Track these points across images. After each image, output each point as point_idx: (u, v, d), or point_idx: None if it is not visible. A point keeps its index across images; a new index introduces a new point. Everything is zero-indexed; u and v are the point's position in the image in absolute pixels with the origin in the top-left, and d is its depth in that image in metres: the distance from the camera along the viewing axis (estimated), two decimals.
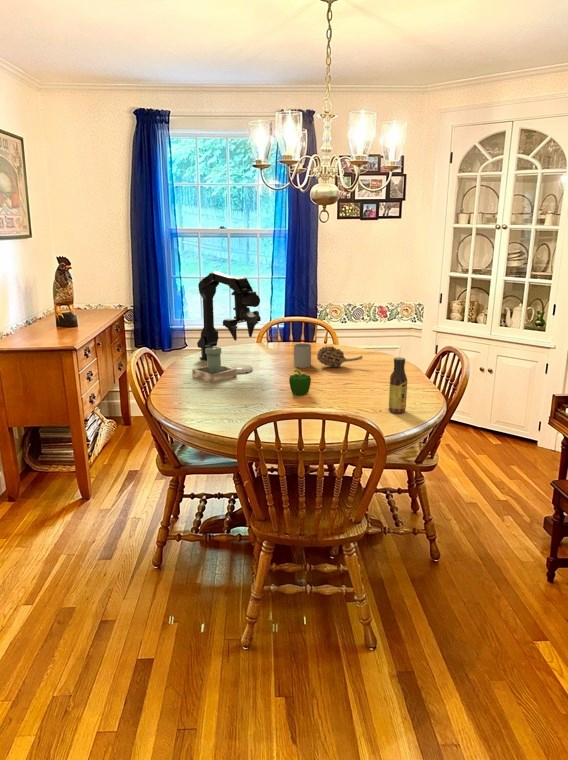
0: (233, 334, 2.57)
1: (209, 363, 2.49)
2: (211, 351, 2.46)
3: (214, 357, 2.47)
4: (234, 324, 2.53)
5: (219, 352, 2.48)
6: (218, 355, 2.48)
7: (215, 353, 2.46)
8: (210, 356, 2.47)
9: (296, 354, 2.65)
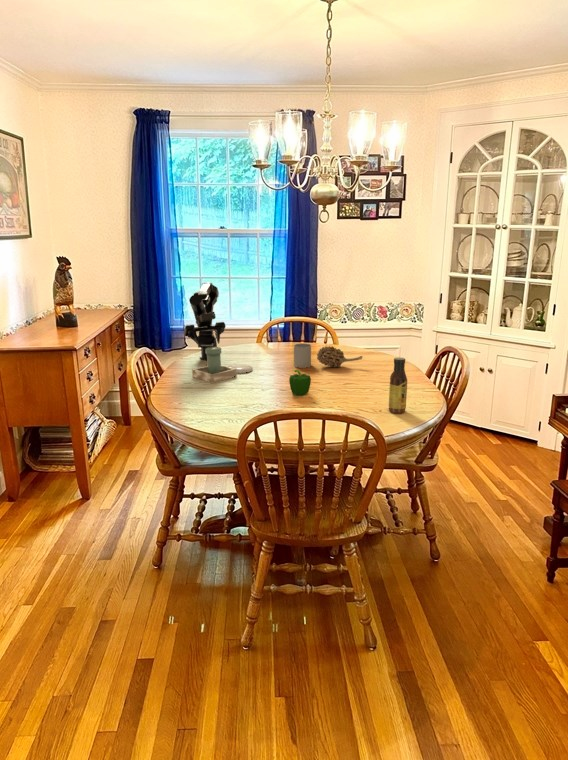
0: (195, 340, 2.55)
1: (209, 363, 2.49)
2: (211, 351, 2.46)
3: (214, 357, 2.47)
4: (190, 327, 2.54)
5: (219, 352, 2.48)
6: (218, 355, 2.48)
7: (215, 353, 2.46)
8: (210, 356, 2.47)
9: (296, 354, 2.65)
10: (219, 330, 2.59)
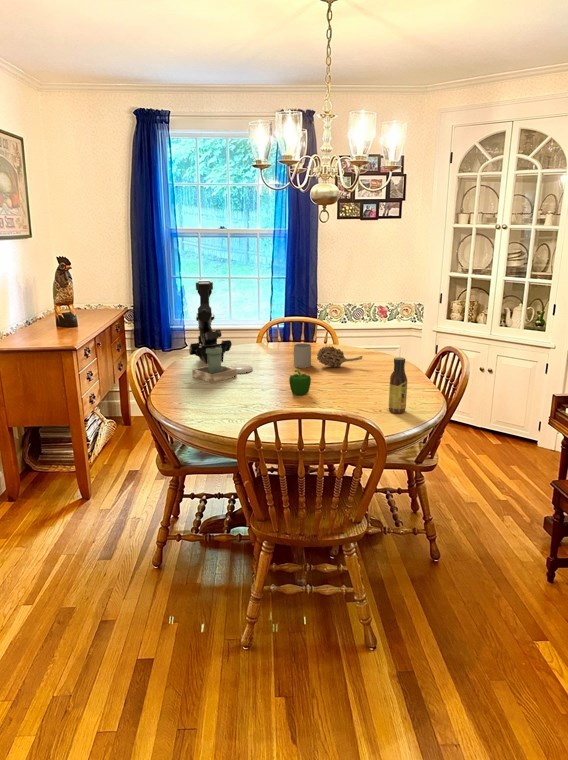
0: (203, 358, 2.49)
1: (209, 363, 2.49)
2: (212, 351, 2.46)
3: (214, 357, 2.47)
4: (196, 345, 2.48)
5: (220, 352, 2.48)
6: (218, 355, 2.48)
7: (216, 353, 2.46)
8: (210, 356, 2.47)
9: (296, 354, 2.65)
10: (223, 349, 2.52)
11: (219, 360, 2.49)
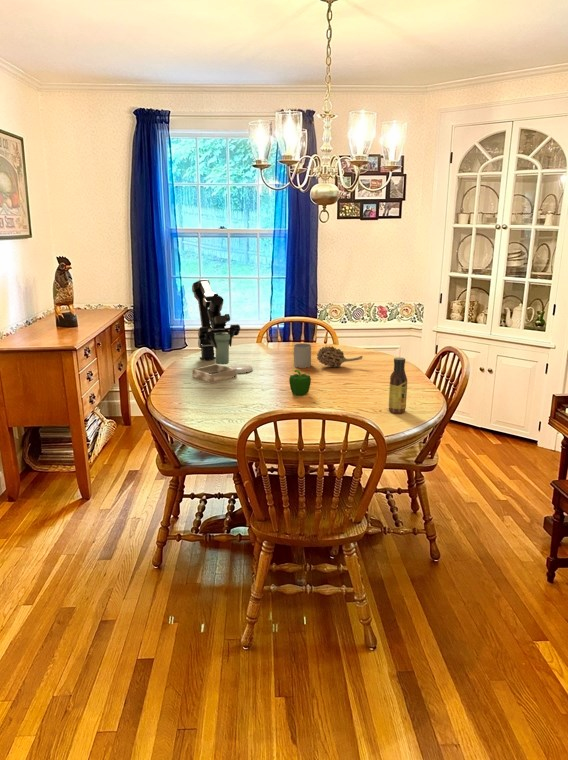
0: (212, 342, 2.51)
1: (217, 349, 2.51)
2: (220, 337, 2.48)
3: (222, 343, 2.50)
4: (205, 329, 2.50)
5: (228, 338, 2.50)
6: (226, 341, 2.50)
7: (224, 339, 2.49)
8: (219, 342, 2.50)
9: (296, 354, 2.65)
10: (231, 333, 2.54)
11: (227, 346, 2.51)
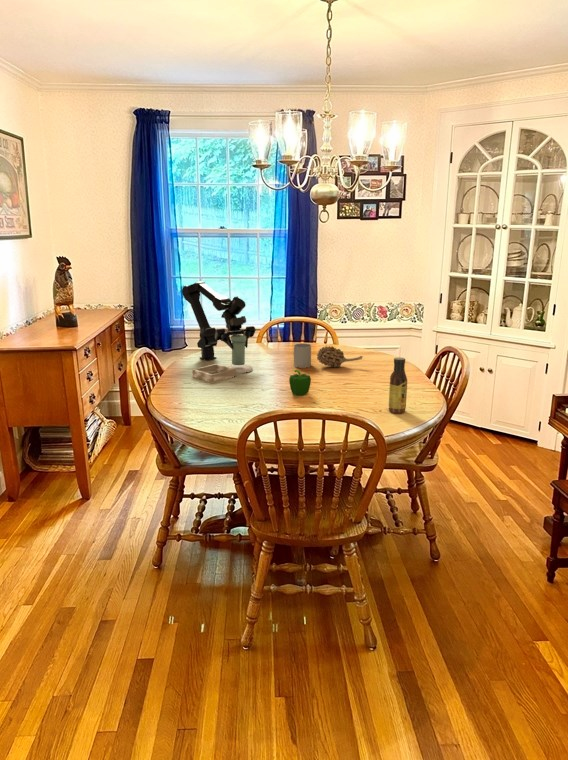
0: (228, 343, 2.58)
1: (234, 350, 2.58)
2: (237, 338, 2.55)
3: (239, 344, 2.57)
4: (222, 331, 2.57)
5: (244, 340, 2.57)
6: (243, 343, 2.58)
7: (240, 340, 2.56)
8: (235, 343, 2.57)
9: (296, 354, 2.65)
10: (247, 334, 2.62)
11: (243, 348, 2.58)
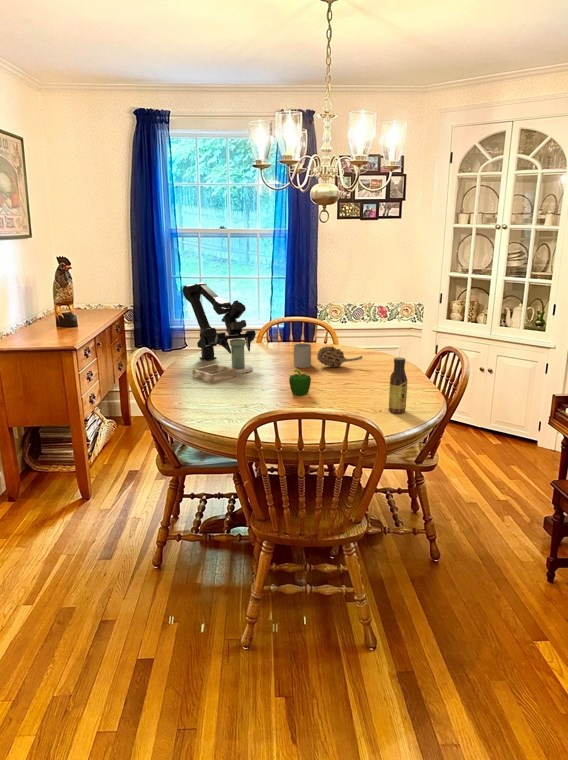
0: (226, 347, 2.58)
1: (233, 354, 2.58)
2: (235, 343, 2.56)
3: (238, 349, 2.57)
4: (222, 335, 2.57)
5: (243, 344, 2.57)
6: (242, 347, 2.58)
7: (239, 345, 2.56)
8: (234, 348, 2.57)
9: (296, 354, 2.65)
10: (249, 338, 2.62)
11: (243, 352, 2.59)
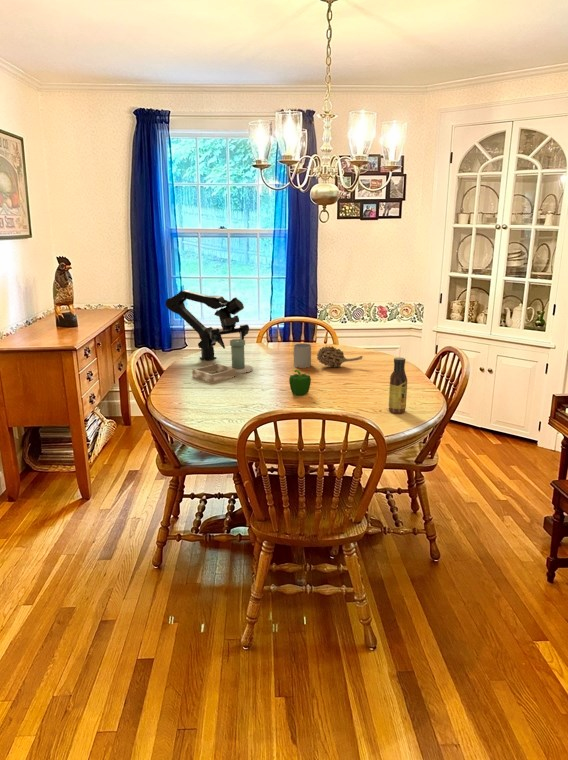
0: (220, 343, 2.67)
1: (233, 354, 2.58)
2: (235, 343, 2.56)
3: (238, 349, 2.57)
4: (216, 331, 2.66)
5: (243, 344, 2.57)
6: (242, 347, 2.58)
7: (239, 345, 2.56)
8: (234, 348, 2.57)
9: (296, 354, 2.65)
10: (243, 333, 2.70)
11: (243, 352, 2.59)
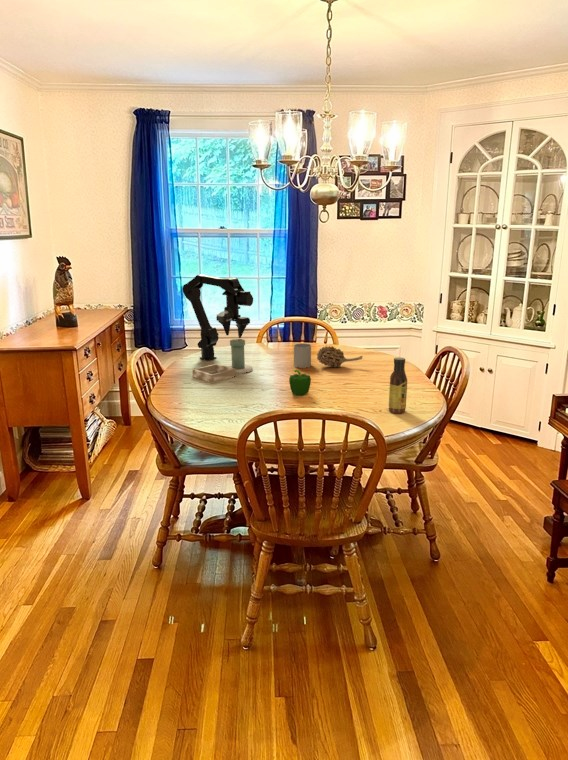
0: None
1: (233, 354, 2.58)
2: (235, 343, 2.56)
3: (238, 349, 2.57)
4: None
5: (243, 344, 2.57)
6: (242, 347, 2.58)
7: (239, 345, 2.56)
8: (234, 348, 2.57)
9: (296, 354, 2.65)
10: (238, 327, 2.67)
11: (243, 352, 2.59)
